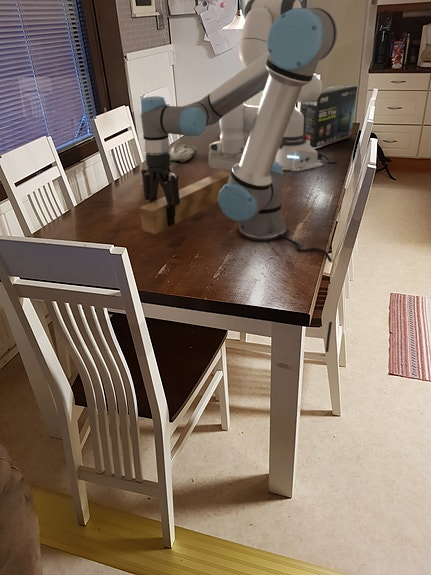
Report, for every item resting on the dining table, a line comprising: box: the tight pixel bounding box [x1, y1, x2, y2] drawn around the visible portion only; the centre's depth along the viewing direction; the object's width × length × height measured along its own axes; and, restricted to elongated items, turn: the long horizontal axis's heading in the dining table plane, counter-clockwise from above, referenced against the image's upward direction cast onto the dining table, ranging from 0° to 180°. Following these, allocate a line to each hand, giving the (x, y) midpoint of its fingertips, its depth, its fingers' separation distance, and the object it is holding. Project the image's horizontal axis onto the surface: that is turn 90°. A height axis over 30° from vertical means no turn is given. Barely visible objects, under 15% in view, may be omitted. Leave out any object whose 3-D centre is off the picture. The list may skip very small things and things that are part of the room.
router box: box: [299, 84, 358, 147], centre depth 238 cm, size 36×11×27 cm, turn 134°
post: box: [139, 170, 231, 235], centre depth 163 cm, size 55×6×8 cm, turn 144°
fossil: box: [169, 142, 199, 163], centre depth 229 cm, size 18×11×15 cm
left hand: (164, 222), depth 151 cm, fingers closed on post, 6 cm apart
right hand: (232, 182), depth 177 cm, fingers closed on post, 5 cm apart
